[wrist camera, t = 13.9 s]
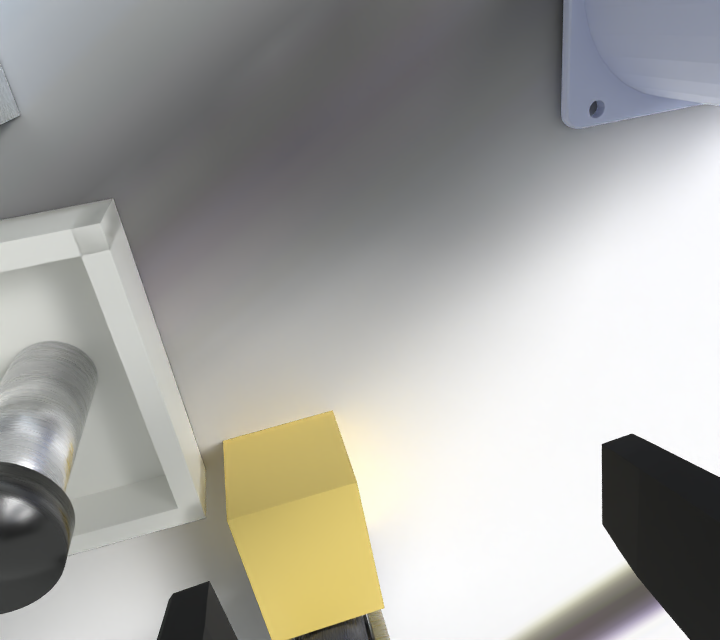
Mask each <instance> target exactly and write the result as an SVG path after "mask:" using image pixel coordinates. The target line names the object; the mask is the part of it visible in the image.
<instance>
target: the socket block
mask: <svg viewBox="0 0 720 640" xmlns="http://www.w3.org/2000/svg"><path fill="white" fill-rule="evenodd" d="M19 115H20V112H19V110H18V107H17V104H16V102H15V99H14V97H13V94H12V92H11V89H10V86H9V84H8V81H7V79H6V76H5V74H4V71H3V68H2V66H1V63H0V125H1V124H3V123H5V122H7V121H9V120H11V119H13V118H15V117H17V116H19Z"/></svg>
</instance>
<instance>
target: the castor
mask: <svg viewBox="0 0 720 640" xmlns="http://www.w3.org/2000/svg"><path fill="white" fill-rule="evenodd" d="M367 617H368V620H367ZM367 617H366V614H365V615H362V616H358V617H355V618H352V619H349V620H346V621H343V622H340V623H337V624H334V625H331V626H328V627H325V628H322V629H319V630H316V631H313V632H310V633H306V634H303V635H300V636H297V637H294V638H291V639H288V640H294V639H295V640H390V638H389V635H388V631H387V628H386V625H385V622H384V618H383V615H382V612H381V609H380V610H377V611H374V612H371V613H368V614H367ZM368 622H369V624H368Z"/></svg>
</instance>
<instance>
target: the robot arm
mask: <svg viewBox="0 0 720 640" xmlns="http://www.w3.org/2000/svg"><path fill="white" fill-rule="evenodd" d="M594 101H596V102H597V110H596V112H595V113H594V114H593V115H592V116H590V113H589V109H590V106H591V105H592V103H593V102H594ZM703 104H710V105H716V106H720V0H564V4H563V50H562V96H561V116H562V120H563V122H564V123H565V125H567V126H569V127H571V128H575V129H582V128H587V127H592V126H597V125H602V124H607V123H612V122H617V121H622V120H627V119H632V118H637V117H642V116H647V115H652V114H657V113H662V112H667V111H672V110H677V109H682V108H687V107H692V106H698V105H703ZM602 524H603V526H604V527H605V529H606V530H607V532H608V534H609V535H610V537H611V538H612V540H613V541H614V543H615V544H616V546H617V547H618V549H619V551H620V552H621V554H622V555H623V557H624V558H625V559H626V561H627V562H628V564H629V565H630V567H631V568H632V570H633V571H634V573H635V574H636V576H637V577H638V578H639V579H640V580H641V582H642V583H643V584H644V585H645V587H646V588H647V589H648V590H649V591H650V593H651V594H652V595H653V596H654V597H655V599H656V600H657V601H658V602H659V603H660V605H661V606H662V607H663V608H664V609H665V611H666V612H667V613H668V614H669V615H670V617H671V618H672V619H673V620H674V621H675V623H676V624H677V625H678V626H679V627H680V628H681V630H682V631H683V632H684V633H685V634H686V636H687V637H688V638H689V639H690V640H720V477H718V476H716V475H714V474H712V473H710V472H708V471H706V470H704V469H702V468H700V467H698V466H696V465H694V464H692V463H690V462H688V461H686V460H684V459H682V458H680V457H678V456H676V455H674V454H672V453H670V452H668V451H666V450H664V449H662V448H660V447H658V446H656V445H654V444H652V443H650V442H648V441H646V440H644V439H642V438H640V437H638V436H636V435H634V434H629V435H627V436H624V437H621V438H618V439H615V440H612V441H609V442H606V443H604V444H602ZM157 640H238V639H237V637H236V635H235V633H234V631H233V629H232V627H231V625H230V623H229V621H228V618H227V616H226V614H225V612H224V610H223V608H222V606H221V604H220V602H219V600H218V598H217V596H216V594H215V592H214V589H213V587H212V585H211V583H210V581H208V582H205V583H202V584H199V585H197V586H194V587H191V588H188V589H185V590H182V591H179V592H176V593H174V594H173V595H172V596H171V598H170V599H169V601H168V604H167V608H166V611H165V615H164V618H163V621H162V625H161V628H160V631H159V634H158V638H157Z"/></svg>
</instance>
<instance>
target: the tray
mask: <svg viewBox="0 0 720 640" xmlns="http://www.w3.org/2000/svg"><path fill="white" fill-rule="evenodd" d="M43 341H59V342H64V343H68V344H70V345H73V346H75V347H77V348H79V349H80V350H82V351H83V352H85V353H86V354H87V355H88V356H89V357H90V358H91V360H92V361H93V362H94V364H95V366H96V369H97V373H98V383H97V387H96V390H95V394H94V397H93V400H92V404H91V407H90V410H89V414H88V417H87V420H86V424H85V427H84V430H83V434H82V437H81V440H80V444H79V447H78V451H77V454H76V457H75V461H74V464H73V467H72V471H71V474H70V477H69V481H68V484H67V487H66V491H65V493H66V495H67V496H68V498H69V499H70V501H71V503H72V506H73V508H74V513H75V527H74V532H73V536H72V540H71V544H70V548H69V552H68V556H70V555H74V554H77V553H81V552H84V551H88V550H92V549H95V548H99V547H103V546H106V545H110V544H113V543H117V542H121V541H124V540H128V539H132V538H135V537H139V536H143V535H146V534H150V533H153V532H157V531H161V530H164V529H168V528H172V527H175V526H179V525H182V524H186V523H190V522H193V521H197V520H201V519H204V518H206V469H205V466H204V463H203V460H202V458H201V455H200V452H199V449H198V446H197V443H196V440H195V437H194V434H193V431H192V428H191V425H190V422H189V419H188V416H187V414H186V411H185V408H184V405H183V402H182V399H181V396H180V393H179V390H178V387H177V384H176V381H175V378H174V375H173V372H172V370H171V367H170V364H169V361H168V358H167V355H166V352H165V349H164V346H163V343H162V340H161V337H160V334H159V331H158V328H157V326H156V323H155V320H154V317H153V314H152V311H151V308H150V305H149V302H148V299H147V296H146V293H145V290H144V287H143V284H142V282H141V279H140V276H139V273H138V270H137V267H136V264H135V261H134V258H133V255H132V252H131V249H130V246H129V243H128V240H127V237H126V235H125V232H124V229H123V226H122V223H121V220H120V217H119V214H118V211H117V208H116V205H115V202H114V199H113V198H112V199H107V200H101V201H96V202H91V203H86V204H81V205H76V206H70V207H65V208H60V209H55V210H50V211H45V212H39V213H34V214H29V215H24V216H19V217H14V218H8V219H3V220H0V382H1V380H2V378H3V376H4V375H5V373H6V371H7V369H8V368H9V366H10V364H11V362H12V361H13V359H14V358H15V356H16V355H17V354H18V353H19V352H20V351H21V350H22V349H24V348H26V347H27V346H29V345H32V344H34V343H38V342H43Z"/></svg>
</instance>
